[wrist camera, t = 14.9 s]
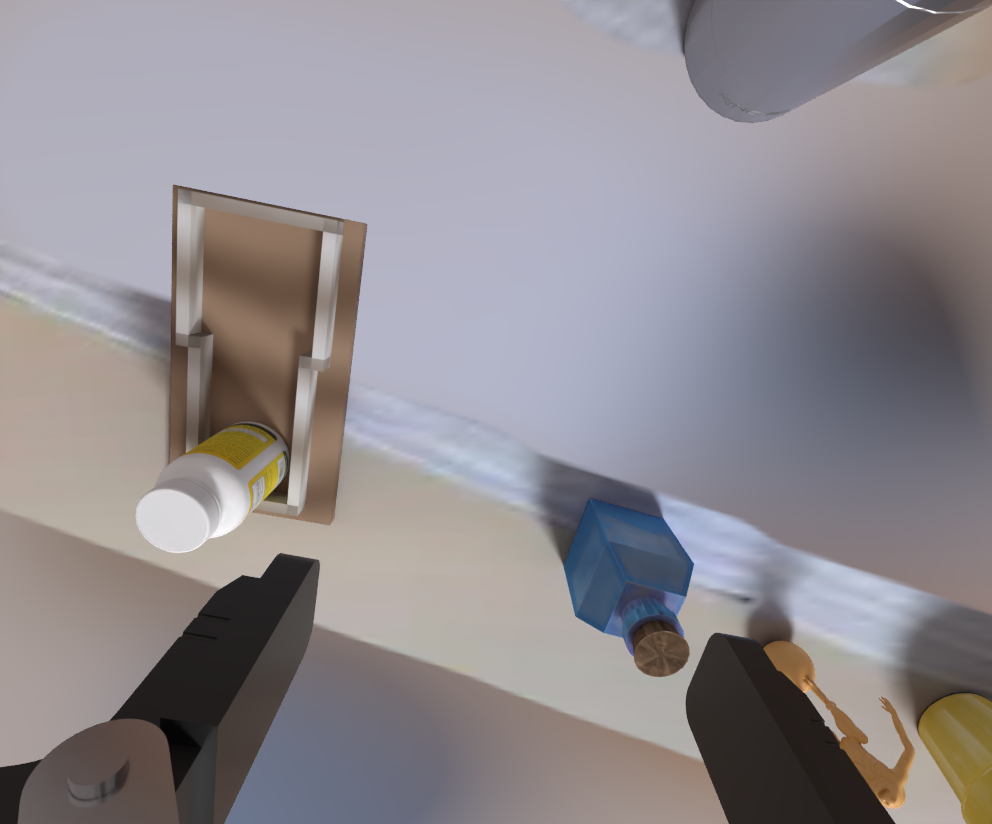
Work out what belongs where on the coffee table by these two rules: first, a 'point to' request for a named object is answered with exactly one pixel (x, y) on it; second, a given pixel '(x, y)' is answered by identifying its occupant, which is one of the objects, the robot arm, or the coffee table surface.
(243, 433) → the supplement bottle
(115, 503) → the coffee table surface
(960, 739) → the plant pot
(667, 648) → the perfume bottle
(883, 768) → the figurine
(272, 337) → the brown rectangular tray
